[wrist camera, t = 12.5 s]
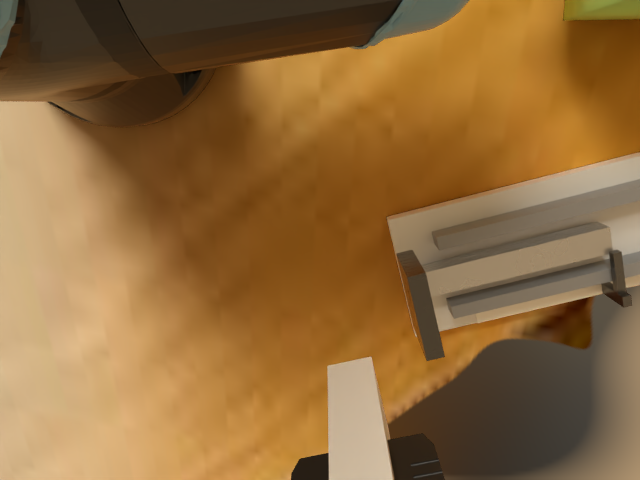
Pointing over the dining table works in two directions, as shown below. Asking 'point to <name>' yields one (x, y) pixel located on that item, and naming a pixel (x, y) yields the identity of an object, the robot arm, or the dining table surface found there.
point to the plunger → (502, 272)
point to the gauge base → (526, 222)
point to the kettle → (601, 10)
